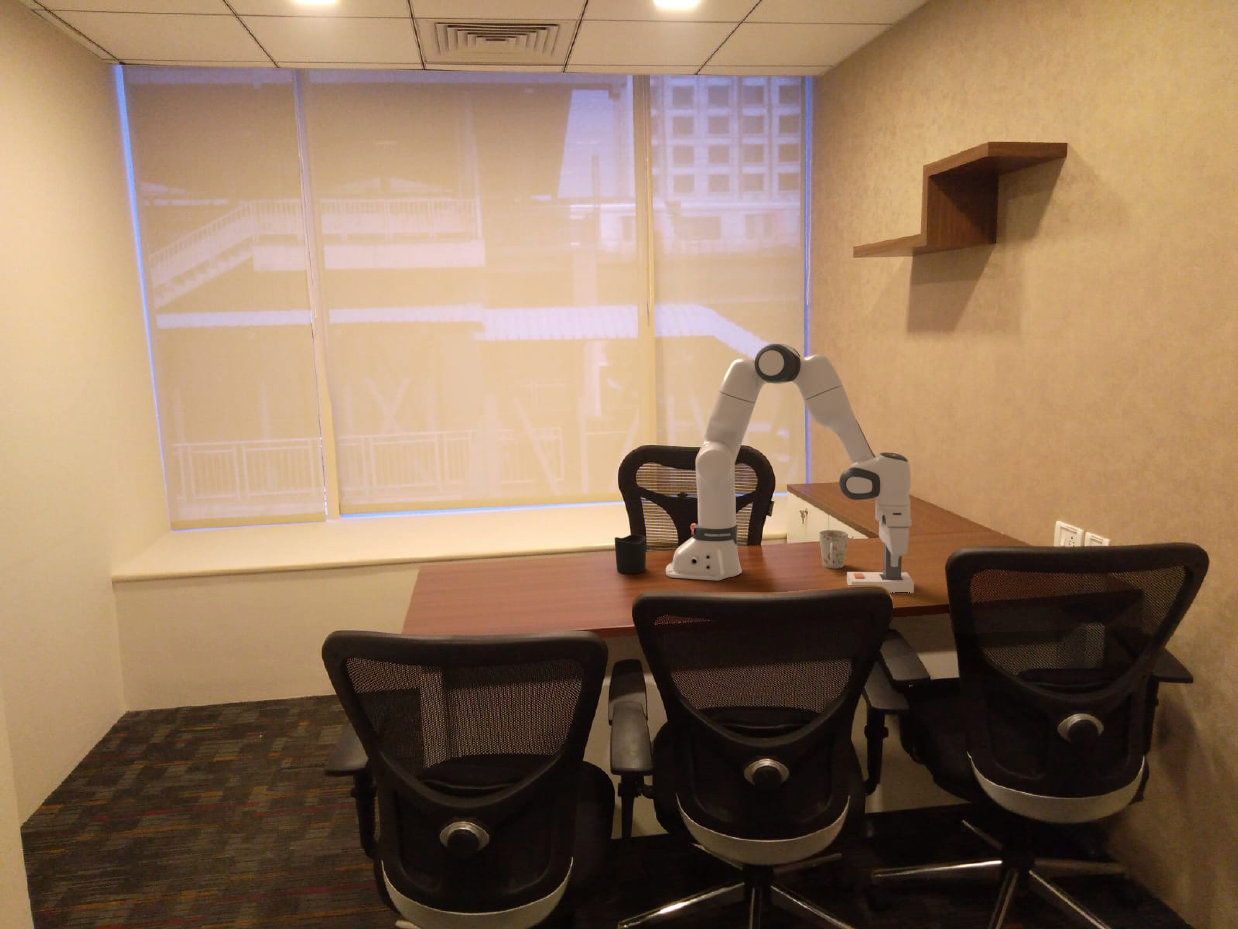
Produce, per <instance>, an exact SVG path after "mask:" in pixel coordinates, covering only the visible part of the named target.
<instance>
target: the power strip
mask: <svg viewBox="0 0 1238 929" xmlns="http://www.w3.org/2000/svg"><path fill="white" fill-rule="evenodd" d="M846 584H847V586H848V585H877V586H882V587H884V588H885V589H887V590H888V591H889V592H890V594H896V593H895V592H908V593H907V594H914V592H915V586H914V585H915V581H914V580H913V579H912V577H911V576H910V575H909V573H908V572H907V571H906V572H905V571H904V572H902V571H901V580H884V578H883V571H881V572H880V571H873V572H872V571H847V572H846ZM892 592H893V593H892ZM909 592H910V593H909Z"/></svg>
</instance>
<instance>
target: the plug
mask: <svg viewBox="0 0 1238 929" xmlns="http://www.w3.org/2000/svg"><path fill="white" fill-rule="evenodd" d="M882 543H883V545H882V547H883V550H882V553H883V555H882V556H883V557H882V558H883V559H882V560H883V561H882V562H883V563H882V567H883V568H882V572H883V578H884V580H901V572H902V557H903V556H899V559H898V566H897V567H892V566H891V565H890V559H891V554H890V551H889V550H888V548H887V546H886V544H885V543H884V542H882Z"/></svg>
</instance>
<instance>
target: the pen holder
mask: <svg viewBox="0 0 1238 929" xmlns="http://www.w3.org/2000/svg"><path fill="white" fill-rule="evenodd" d="M646 541H647V536H645V535H641V534H629V535H627V536H624V537H618V536H617V537H614V551H615V563H616V570H617V572H619V573H621V574H626V575H634V574H640V573H643V572H644V571H645V570H646V566H647V565H646V563H647V562H646V560H647V559H646V557H647V556H646V555H647V554H646V553H647V547H646V546H647V544H646V543H647V542H646Z"/></svg>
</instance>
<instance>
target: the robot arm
mask: <svg viewBox="0 0 1238 929" xmlns="http://www.w3.org/2000/svg"><path fill="white" fill-rule="evenodd" d="M790 382H792V384H795V386H797V388H798V389H799V391H800V394H801V397H802V399H803V401H804V404H805V406H806V409H807V411H808V413H809V414H810V416H811V418H812V419H813V420H814V422H816V423H817V424H818V425H821V426H823V427H825V428H827V429H829V430H831V431H832V432H834V434H836V436H837V437H838V438H839V439H840V441H841V444H842V445H843V448H844V450H845V451H846V453H847V456H848V458H849V460H850V464H851V466H848V467H847V468H846V469H845V470H844V471H843V472H842V473H841V475H840V477H839V482H838V483H839V484H838V485H839V488H840V491H841V493H842V494H843V495H844V496H845V497H846V498H848V499H850V500H853V501H864V500H870V499H874V500H875V506H874V507H875V509H874V510H875V514H874V515H875V520H876V521H877V522H878V524H879V525H878V537H879V539H880V540H881V541H882V543H883V542H884V543H885V544H886V546H887V548H888V550H889V551H890V554H891V559H890V565H891V566H892V567H897V566H898V559H899V556H902V557H904V556H907V553H908V549H909V541H910V538H909V537H910V527H912V524H913V523H912V522H913V521H912V516H911V498H910V491H911V483H912V482H911V481H912V480H911V465H910V462H909V460H908V458H906V457H905V456H904V455H902V454H899V453H895V452H885V451H884V452H881V453H879V454H878V455H875V454H874V452H873V450H872V449H871V447H870V445H869V443H868V440H867V438H866V436H865V434H864V432H863V430H862V428H861V426H860V424H859V422H858V420H857V417H856V416H855V414H854V411H853V409H852V406H851V403H850V400H849V398H848V395H847V392H846V389H845V388H844V385H843V383H842V381H841V379H840V377H839V374H838V373H837V371H836V369H835V368H834V366H833V364H832V362H831V361H830V360H829V358H828V357H827V356H826V355H823V354H821V353H820V354H816V353H815V354H809V355H807V356H805V357H804V356H803V357H801V355H800V353H799V351H797V349H795V348H794V347H792V346H790V345H787V344H785V343H770V344H767V345H765V346H763V347H761V348H760V350H758V352H757V353H756V355H755V358H754V359H751V358H747V357H745V358H744V357H742V358H740V357H739V358H736V359H734V360H733V361H732V362H731V364H730V365H729V367H728V369H727V370H726V372H725V374H724V377H723V379H722V382H721V384H720V387H719V390H718V392H717V395H716V399H715V401H714V404H713V408H712V411H711V414H710V416H709V420H708V423H707V427H706V430H705V433H704V436H703V439H702V442H701V446H700V448H699V451H698V453H697V455H696V457H695V480H696V482H695V483H696V493H697V496H696V497H697V523H694V522H693V523H691V525H690V527H689V528H690V531H691V532H690V534H691V537H689V539H688V540H686V541H684V542H683V543H682V544H680V546H678V548H676V550H675V551H674V553H673V558H672V562H670V563H669V564H667V565H666V568H665V574H666V576H668V577H669V578H675V579H690V580H705V581H721V580H724V579H726V578H733V577H736V576H738V575H740V574H742V573H743V570H742V567H741V563H740V558H739V553H738V552H739V551H738V541H739V530H738V524H737V519H736V518H737V516H736V515H737V514H736V513H737V511H736V507H737V506H736V505H737V502H736V476H735V473H736V472H735V471H736V470H735V467H736V461H737V457H738V455H739V452H740V449H741V446H742V443H743V440H744V437H745V435H746V432H747V429H748V426H749V424H750V421H751V417H752V415H753V412H754V408H755V407H756V403H757V400H758V398H759V397H758V396H759V394H760V392H761V390H762V388H763V387H764V385H766V384H767V383H768V384H774V385H775V384H776V385H781V384H786V383H790Z"/></svg>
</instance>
